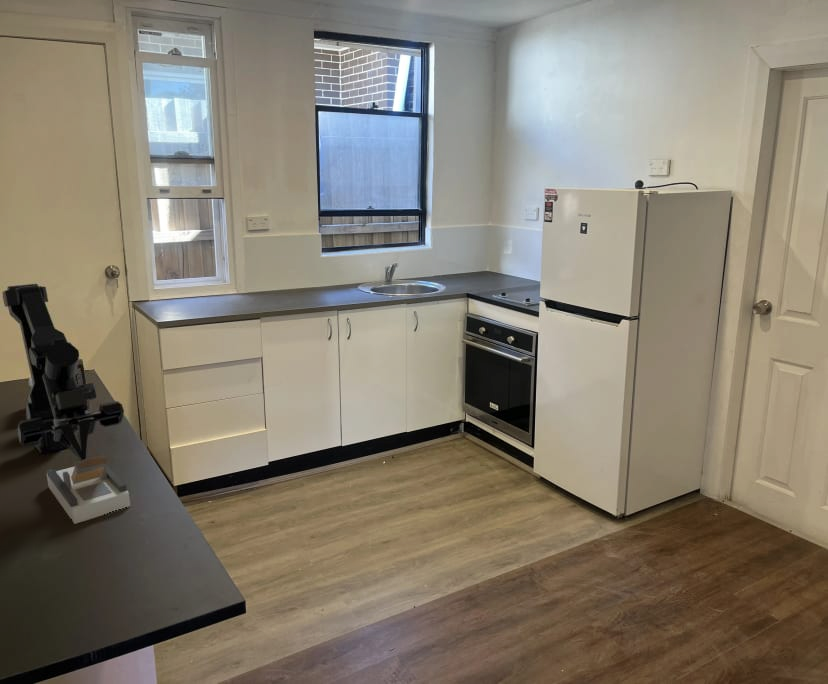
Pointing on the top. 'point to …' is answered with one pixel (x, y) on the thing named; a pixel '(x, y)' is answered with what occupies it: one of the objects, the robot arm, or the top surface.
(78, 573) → the top surface
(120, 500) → the tray
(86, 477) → the lever
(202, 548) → the top surface
